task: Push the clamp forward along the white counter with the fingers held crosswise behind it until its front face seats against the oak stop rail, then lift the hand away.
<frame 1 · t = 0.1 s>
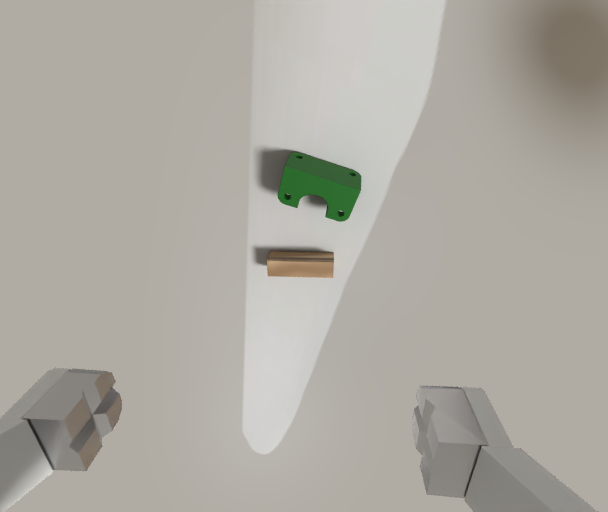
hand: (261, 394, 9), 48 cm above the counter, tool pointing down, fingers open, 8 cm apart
stop rail: (301, 259, 61), on the counter
clamp: (319, 182, 55), on the counter
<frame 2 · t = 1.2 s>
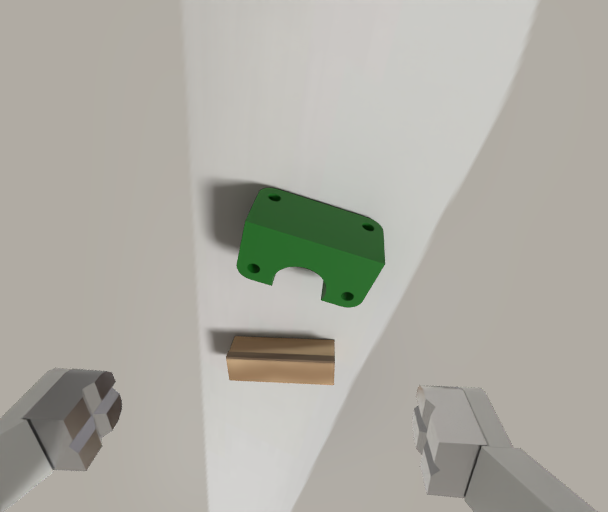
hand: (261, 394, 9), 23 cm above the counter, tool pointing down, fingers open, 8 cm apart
stop rail: (284, 348, 39), on the counter
clamp: (311, 235, 33), on the counter
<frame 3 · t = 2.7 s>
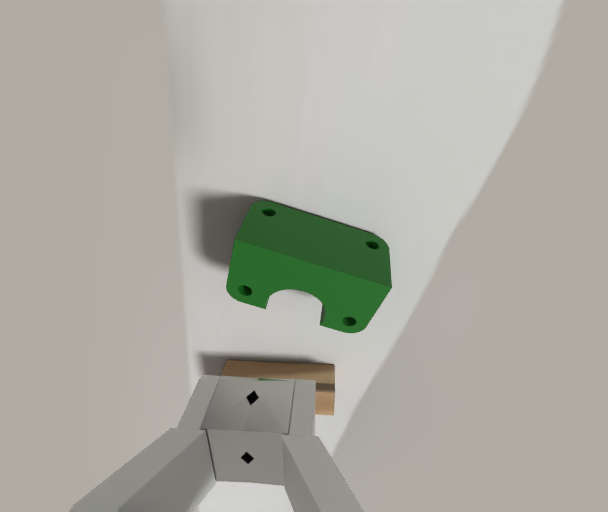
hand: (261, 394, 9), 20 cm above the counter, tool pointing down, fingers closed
stop rail: (280, 373, 36), on the counter
clamp: (309, 252, 30), on the counter
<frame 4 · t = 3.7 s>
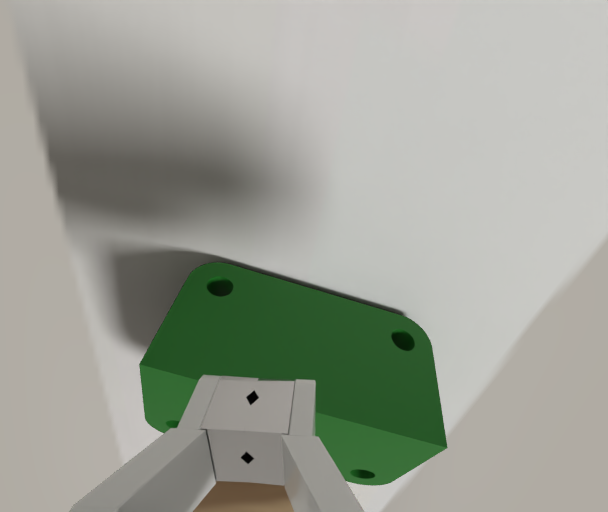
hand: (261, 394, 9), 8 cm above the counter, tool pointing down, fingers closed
stop rail: (257, 489, 25), on the counter
clamp: (296, 336, 18), on the counter
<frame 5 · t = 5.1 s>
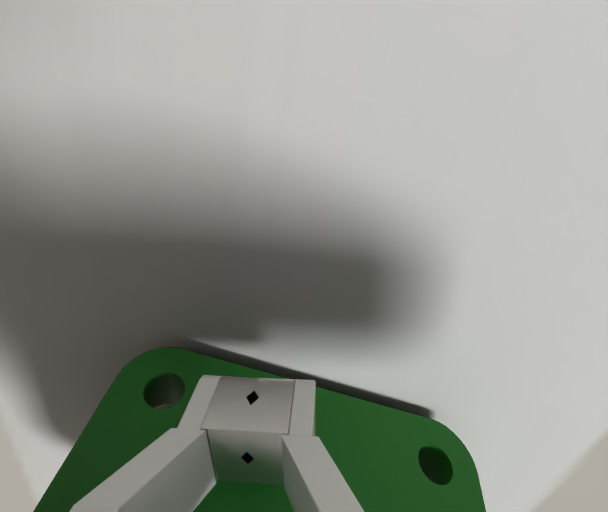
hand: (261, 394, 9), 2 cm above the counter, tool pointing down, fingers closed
clamp: (283, 434, 14), on the counter, touching gripper
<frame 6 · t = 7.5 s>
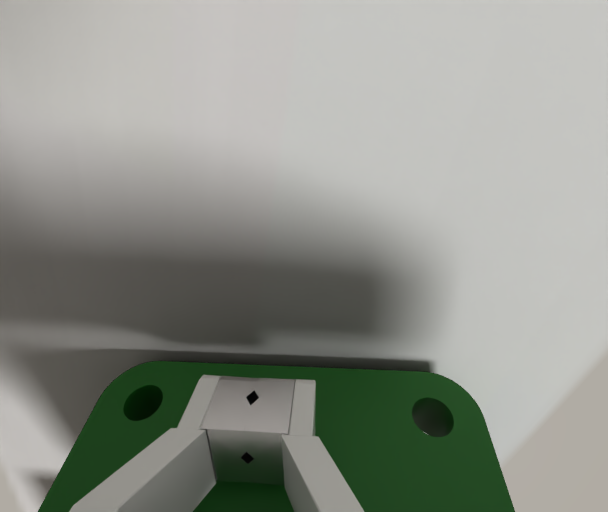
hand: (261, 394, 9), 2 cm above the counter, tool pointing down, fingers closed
clamp: (293, 424, 13), on the counter
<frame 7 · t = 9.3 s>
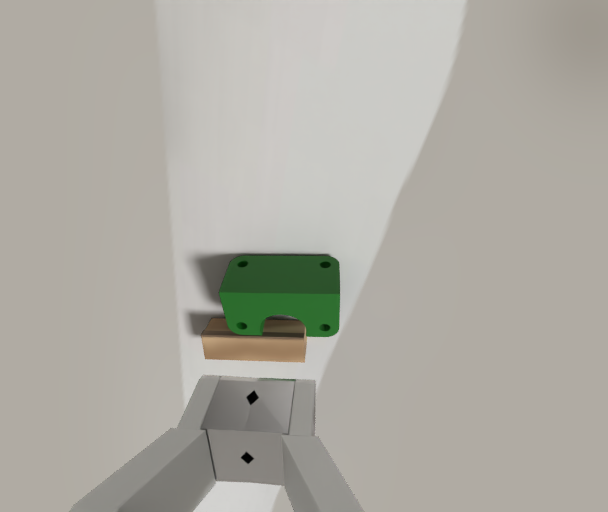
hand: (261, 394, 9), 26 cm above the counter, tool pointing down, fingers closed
stop rail: (259, 330, 41), on the counter
clamp: (287, 283, 38), on the counter
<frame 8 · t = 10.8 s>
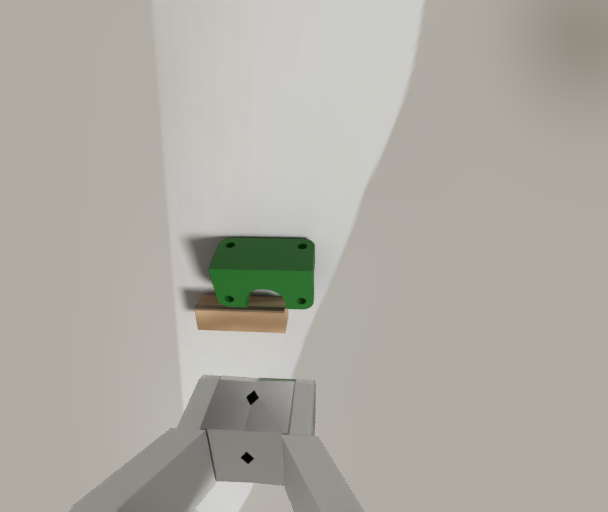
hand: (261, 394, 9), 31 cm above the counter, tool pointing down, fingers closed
stop rail: (246, 305, 46), on the counter
clamp: (270, 262, 43), on the counter
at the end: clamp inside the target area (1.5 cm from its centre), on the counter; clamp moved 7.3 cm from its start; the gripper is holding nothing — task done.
